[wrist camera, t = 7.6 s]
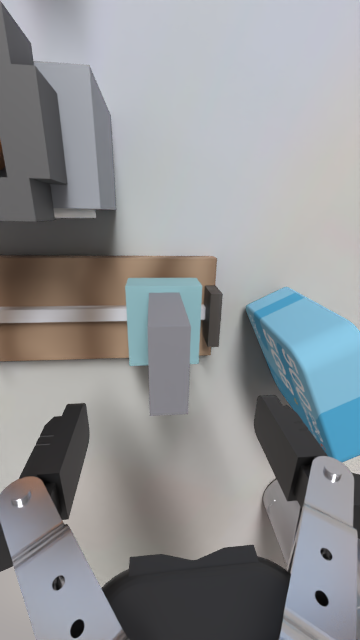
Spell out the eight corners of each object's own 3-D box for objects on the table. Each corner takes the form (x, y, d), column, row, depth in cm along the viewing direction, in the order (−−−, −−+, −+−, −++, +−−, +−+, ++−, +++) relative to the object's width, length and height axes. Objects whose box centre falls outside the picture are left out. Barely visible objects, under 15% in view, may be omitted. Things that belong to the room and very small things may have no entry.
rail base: (213, 256, 27) (224, 264, 23) (207, 348, 30) (216, 370, 26) (-29, 255, 25) (-66, 263, 20) (-4, 354, 28) (-31, 378, 24)
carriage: (196, 277, 25) (223, 317, 15) (193, 348, 27) (215, 418, 18) (128, 277, 24) (113, 319, 15) (131, 349, 27) (121, 423, 17)
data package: (241, 301, 29) (298, 357, 18) (281, 282, 28) (365, 327, 17) (276, 386, 33) (339, 474, 22) (311, 370, 33) (393, 452, 22)
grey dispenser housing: (109, 104, 22) (72, 7, 11) (116, 218, 25) (91, 222, 14) (-55, 95, 20) (-260, -22, 10) (-27, 215, 24) (-163, 218, 13)
